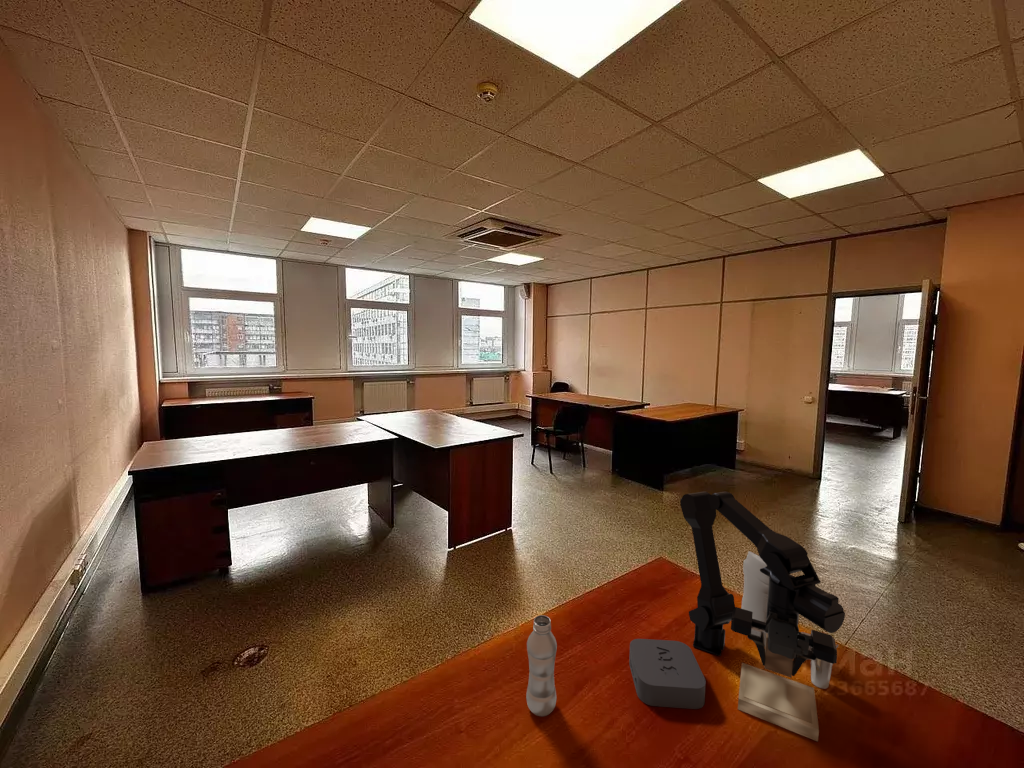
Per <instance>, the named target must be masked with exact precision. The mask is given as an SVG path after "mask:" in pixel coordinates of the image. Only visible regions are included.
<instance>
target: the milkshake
mask: <svg viewBox="0 0 1024 768" xmlns="http://www.w3.org/2000/svg"><path fill="white" fill-rule="evenodd" d="M837 648H839V644H836V649H837ZM833 665H834V664H832V663H829V662H826V661H823V660H820V659H817V658H816V660H811V659H810V680H811V684H813V686H815V687H817V688H820V689H825V690H826V689H828V688H829V685H830V681H831V675H832V670H833Z"/></svg>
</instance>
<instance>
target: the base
mask: <svg viewBox="0 0 1024 768" xmlns="http://www.w3.org/2000/svg"><path fill="white" fill-rule="evenodd" d="M737 710H739V711H740V712H743V713H746V714H749V715H751V716H753V717H756V718H758V719H761V720H764V721H766V722H768V723H770V724H773V725H776V726H778V727H781V728H783V729H784V730H785V729H786V730H788V731H790V732H793V733H795V734H798V735H800V736H802V737H806V738H807V739H811V740H813V741H815V742H819V733H820V728H819V720H818V711H817V702H816V695H815V687H812V686H809V685H807V684H803V683H801V682H799V681H796V680H793V679H791V678H790V679H789V678H786V677H784V676H783V675H782V676H781V675H780V674H779V675H778V674H777V673H776V674H775V673H774V672H771V671H770V672H769V671H767V670H766V669H765V670H764V669H761V668H759V667H756V666H753V665H750V664H748V663H744V662H741V668H740V679H739V688H738V701H737Z"/></svg>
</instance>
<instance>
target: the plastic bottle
mask: <svg viewBox="0 0 1024 768" xmlns="http://www.w3.org/2000/svg"><path fill="white" fill-rule="evenodd" d="M551 621H552V620H551V618H550V617H549V616H548V615H544V614H543V615H542V614H540V615H537V616H535V617H534V619H533V626H532V627H533V628H532V630H533V631H532V632H531V633H530V634H529V636H528V638H527V641H526V651H527V657H528V668H529V669H528V672H529V674H528V684H527V687H526V694H525V696H526V697H525V699H526V703H527V707H528V709H529V710H530V711H531V713H532V714H533V715H535V716H537V717H547V716H548V715H550V714H551V713H552V712H553V711H554V710H555V708H556V703H557V690H556V686H555V662H556V655H557V647H558V644H557V640H556V637H555V636H554V634H553V632H552V623H551Z"/></svg>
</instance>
